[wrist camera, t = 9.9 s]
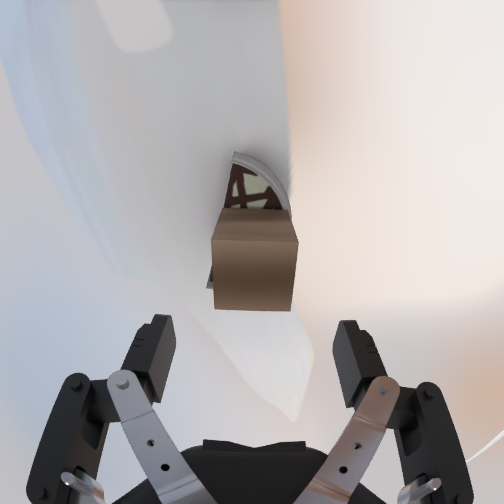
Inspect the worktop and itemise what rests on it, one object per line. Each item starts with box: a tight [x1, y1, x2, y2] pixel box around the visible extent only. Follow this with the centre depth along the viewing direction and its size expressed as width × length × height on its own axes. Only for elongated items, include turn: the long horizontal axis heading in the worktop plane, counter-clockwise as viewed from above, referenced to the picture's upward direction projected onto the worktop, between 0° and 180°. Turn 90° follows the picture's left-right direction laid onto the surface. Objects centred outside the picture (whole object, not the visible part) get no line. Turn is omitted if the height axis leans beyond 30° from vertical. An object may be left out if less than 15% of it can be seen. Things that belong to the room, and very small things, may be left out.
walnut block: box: [211, 208, 298, 311], centre depth 20 cm, size 5×5×6 cm
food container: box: [206, 152, 292, 289], centre depth 27 cm, size 12×6×10 cm, turn 167°
